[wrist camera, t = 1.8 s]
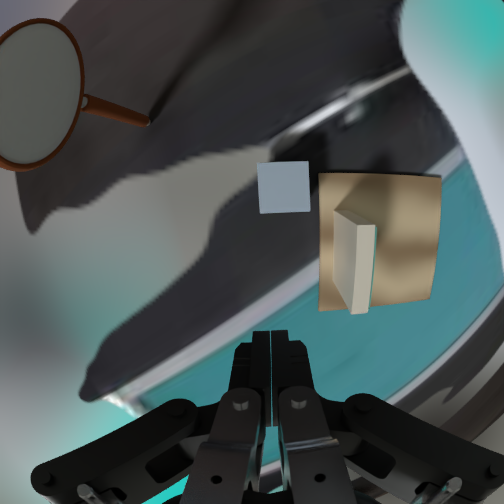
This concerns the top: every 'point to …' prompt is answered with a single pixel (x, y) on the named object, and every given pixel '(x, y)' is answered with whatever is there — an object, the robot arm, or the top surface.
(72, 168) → the top surface
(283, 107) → the top surface
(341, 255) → the tile
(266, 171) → the block
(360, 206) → the cork mat
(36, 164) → the magnifying glass
